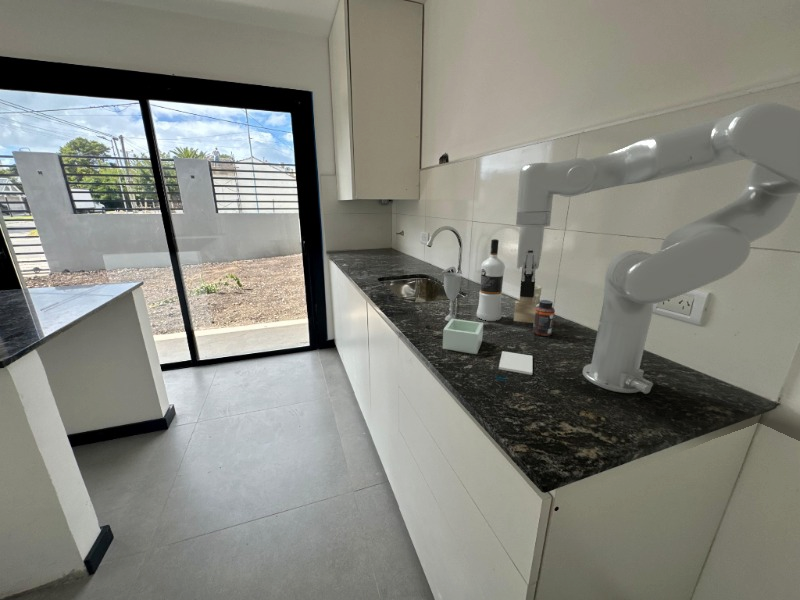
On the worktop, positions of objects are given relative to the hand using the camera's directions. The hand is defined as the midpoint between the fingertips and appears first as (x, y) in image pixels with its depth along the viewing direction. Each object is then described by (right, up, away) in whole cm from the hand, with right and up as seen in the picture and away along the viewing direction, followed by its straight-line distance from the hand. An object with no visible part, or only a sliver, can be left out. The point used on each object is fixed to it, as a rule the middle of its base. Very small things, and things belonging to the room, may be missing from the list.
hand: (526, 294), depth 79 cm
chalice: (-13, -10, +38) cm, 42 cm away
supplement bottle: (+16, -13, +27) cm, 34 cm away
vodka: (+2, -9, +43) cm, 43 cm away
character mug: (+16, -9, +40) cm, 45 cm away
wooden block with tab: (0, -7, +2) cm, 7 cm away
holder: (-13, -16, +16) cm, 26 cm away
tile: (+1, -18, +9) cm, 20 cm away
